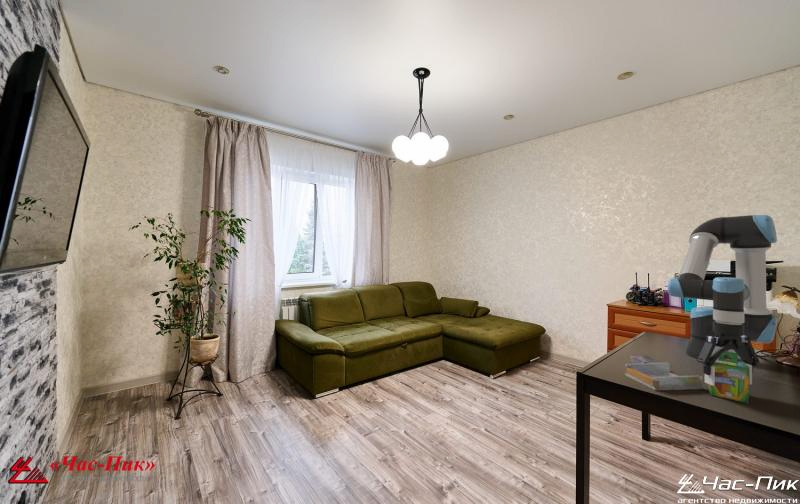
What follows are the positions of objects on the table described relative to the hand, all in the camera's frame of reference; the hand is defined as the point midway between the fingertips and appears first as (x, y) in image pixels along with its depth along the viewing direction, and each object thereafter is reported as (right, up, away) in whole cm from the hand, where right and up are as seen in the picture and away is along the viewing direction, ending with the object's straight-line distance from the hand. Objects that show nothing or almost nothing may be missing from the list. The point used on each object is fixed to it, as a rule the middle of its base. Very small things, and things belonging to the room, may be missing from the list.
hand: (728, 383), depth 109 cm
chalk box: (0, -4, 0) cm, 4 cm away
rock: (-9, -4, +26) cm, 27 cm away
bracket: (-14, -4, +11) cm, 18 cm away
